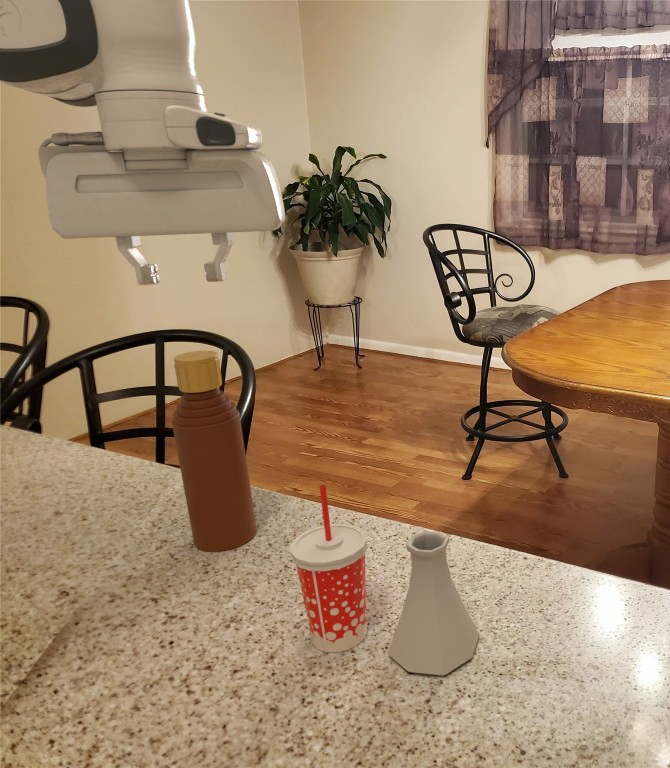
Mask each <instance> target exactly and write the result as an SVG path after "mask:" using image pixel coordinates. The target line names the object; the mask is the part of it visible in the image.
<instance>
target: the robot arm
mask: <svg viewBox="0 0 670 768" xmlns="http://www.w3.org/2000/svg"><path fill="white" fill-rule="evenodd" d="M194 25H195V24H194V19H193V13H192V9H191V4H190V0H0V83H2V84H4V85H7V86H9V87H10V86H11V87H14V88H16V89H20V90H25V91H27V92H31V93H35V94H38V95H42V96H47V97H49V98H51V99H53V100H56V101H58V102H60V103H63V104H66V105H69V106H71V107H80V108H88V107H89V108H90V107H96V108H97V113H98V118H99V123H100V130H101V131H84V132H76V133H73V132H72V133H70V132H55V133H52V134H51V135H50V136H51V137H48V138H47V139H45V140H43V142H42V143H41V144H40V146H39V148H38V151H37V155H38V160H39V165H40V169H41V172H42V174H43V176H44V178H45V187H46V188H45V189H46V202H47V203H46V204H47V211H48V218H49V223H50V226H51V229H52V230H53V231H54V232H55V233H56V234H57V235H58V236H59V237H61V238H62V239H65V240H68V239H70V240H71V239H96V238H115V242H116V247H117V250H118V251H119V253H120V254H121V255H122V256H123V257H124V259H125V260H126V261H127V262H128V263H129V264H130V265H131V266H132V268H134V272H135V276H136V282H137V284H138V285H139V286H149V285H157V284H159V283H160V281H161V277H160V274H158V272H159V266H158V263H150V264H149V262H148V261H147V260H146V259H145V257H144V256H143V254H142V253H141V252H140V250H139V249H138V248H139V247H141V246H142V240H141V237H147V236H149V237H150V236H172V235H173V236H175V235H197V234H199V235H201V234H202V235H203V234H211V241H212V245H213V246H218V249H217V251H216V253H215V255H214V258H213V260H212V261H207V262H205V263H204V264H203V268H204V272H205V273H206V274H205V280H206V282H208V283H211V282H213V283H214V282H216V283H217V282H225V281H226V280H227V270H226V269H227V268H226V264H225V262H226V261H227V259H228V257H229V254H230V252H231V249H232V247H233V245H234V243H235V242H234V237H233V233H249V232H250V233H253V232H272V231H276V230H278V229H280V227H281V226H283V224H284V222H285V220H286V211H285V204H284V199H283V195H282V190H281V186H280V183H279V178H278V176H277V172H276V170H275V167H274V165H273V163H272V161H271V160H270V158H268V156H267V155H266V154H264V153H262V152H260V151H257V150H259V149H261V148H262V147H263V143H264V142H263V141H264V140H263V134H262V131H261V130H260V128H258V126H255V125H254V124H251V123H249V122H245V121H243V120H238V119H235V118H232V117H230V116H229V115H227V114H224V113H220V112H214V113H213V112H210V111H209V110H208V108H207V104H206V97H205V92H204V88H203V85H202V83H201V82H200V79H199V76H198V73H197V69H196V54H197V53H196V52H197V38H196V31H195V26H194ZM50 144H53V145H50Z"/></svg>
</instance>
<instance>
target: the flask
mask: <svg viewBox="0 0 670 768" xmlns="http://www.w3.org/2000/svg"><path fill="white" fill-rule="evenodd" d="M449 543H450V537H449V536H447V535H445V534H444V533H442V532H440V531H431V530H422V531H421V532H418V533H416V534H414V535H412V536H410V537H409V539H408V541H407V542H406V545H405V547H406V548H405V549H406V550H407V551H408V552H409V553H410V558H411V559H410V562H411V563H410V564H411V570H410V577H409V585H408V590H407V592H406V596H405V600H404V603H403V606H402V609H401V613H400V617H399V620H398V622H397V626H396V629H395V632H394V634H393V637H392V640H391V643H390V647H389V649H388V653H387V655H388V656H389V657H390V658H392V659H393V660H394V661H395V662H396V663H397V664H399V665H400V666H401V667H402V668H403V669H404V670H406V671H407V672H408V673H415V674H416V673H417V674H426V675H436V676H445V675H447V674H450V673H451V672H452V671H454V670H456V669H457V668H459V666H461V665H463V664H464V663H466V662H468V661H470V660H471V659H473V656H474V653H475V650H476V646H477V643H478V641H479V637H480V633H479V630H478V629H477V627H476V625H475V622H474V620H473V618H472V617H471V615H470V613H469V611H468V609H467V608H466V606H465V604H464V602H463V600H462V598H461V596H460V594H459V591H458V590H457V587H456V585H455V583H454V581H453V578H452V575H451V572H450V567H449V564H448V559H447V547H448V546H449Z"/></svg>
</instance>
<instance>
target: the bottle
mask: <svg viewBox="0 0 670 768" xmlns="http://www.w3.org/2000/svg"><path fill="white" fill-rule="evenodd" d="M225 393H226V392H225V391H223V390H220V387H218V388H216V389H213V390H210V391H205V392H198V393H186V392H183V395H182V396H181V397H180V398H179V402H178V403H177V405H176V410H174V412H173V413H172V417H173V419H172V421H171V426H172V431H173V437H174V441H175V442H174V443H175V446H176V447H175V448H176V451H177V452H176V453H177V458H178V463H179V468H180V474H181V480H182V485H183V490H184V491H183V492H184V496H185V503H186V508H187V511H188V517H189V523H190V529H191V534H192V539H193V544H194V546H195V547H196V549H198V550H200V551H202V552H208V553H217V552H219V553H220V552H225V551H229V550H233V549H236V548H239V547H242V546H243V545H245V544H247V543H248V542H250V541H251V540H252V539H254V538H255V537H256V535H257V533H258V527H257V520H256V514H255V508H254V501H253V495H252V489H251V482H250V475H249V468H248V463H247V462H248V461H247V456H246V455H247V454H246V449H245V442H244V436H243V429H242V424H241V416H240V411H239V410H238V409H237V406H236V403H235V402H233V401H231V397H229V396H228V395H226V394H225Z"/></svg>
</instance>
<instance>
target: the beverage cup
mask: <svg viewBox="0 0 670 768" xmlns="http://www.w3.org/2000/svg"><path fill="white" fill-rule="evenodd" d="M319 493H320V502H321V511H322V520H323V525H318V526H315V527H313V528H310V529H308V530H306V531H304V532H302V533H300V534H299V535H298V536H296V537H295V538H294V540H293V541H292V542H291V544H290V556H291V561H292V562H293V563H294V564H295V566H296V570H297V575H298V581H299V584H300V589H301V595H302V598H303V602H304V608H305V613H306V618H307V623H308V628H309V632H310V638H311V642H312V645H313V646H314V647H315V648H316V649H317V650H319V651H322V652H325V653H340V652H345V651H349V650H351V649H352V648H354V647H357V646H358V645H359V644H360V643H361V642H363V641H364V640H365V638H366V636H367V633H368V616H367V583H366V581H367V580H366V552H367V550H368V537H367V533H366V531H365V530H364V529H362V528H361V527H359V526H356V525H353V524H349V523H331V520H330V512H329V504H328V494H327V486H326V485H325V484H321V485H319Z"/></svg>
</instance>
